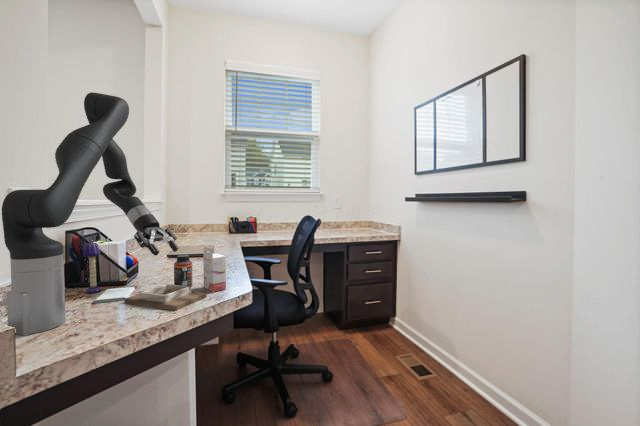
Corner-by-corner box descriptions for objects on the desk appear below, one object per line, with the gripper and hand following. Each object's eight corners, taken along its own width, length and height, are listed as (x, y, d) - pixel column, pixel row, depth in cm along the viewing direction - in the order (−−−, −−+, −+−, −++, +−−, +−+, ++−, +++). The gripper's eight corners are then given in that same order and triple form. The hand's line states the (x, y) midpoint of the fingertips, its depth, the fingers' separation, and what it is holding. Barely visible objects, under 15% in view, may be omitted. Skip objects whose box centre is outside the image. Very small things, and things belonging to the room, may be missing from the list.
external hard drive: (93, 305, 87) (106, 293, 98) (126, 302, 90) (134, 290, 101) (93, 300, 87) (106, 288, 98) (125, 297, 90) (134, 286, 101)
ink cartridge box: (226, 289, 101) (226, 247, 100) (212, 292, 97) (212, 248, 97) (216, 284, 107) (216, 244, 107) (203, 287, 104) (202, 246, 103)
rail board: (176, 310, 81) (176, 299, 81) (124, 302, 88) (124, 292, 88) (206, 297, 92) (206, 287, 92) (158, 291, 99) (158, 281, 99)
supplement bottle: (189, 288, 102) (189, 256, 101) (171, 289, 101) (171, 257, 100) (194, 284, 108) (193, 253, 107) (177, 284, 107) (176, 254, 106)
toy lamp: (101, 293, 97) (99, 243, 97) (83, 295, 95) (81, 244, 94) (101, 289, 101) (100, 241, 101) (84, 291, 99) (83, 242, 98)
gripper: (130, 214, 102) (156, 248, 99) (164, 212, 115) (187, 242, 112) (119, 228, 104) (144, 262, 100) (154, 225, 117) (177, 255, 114)
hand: (167, 252), depth 106 cm, fingers open, 8 cm apart
